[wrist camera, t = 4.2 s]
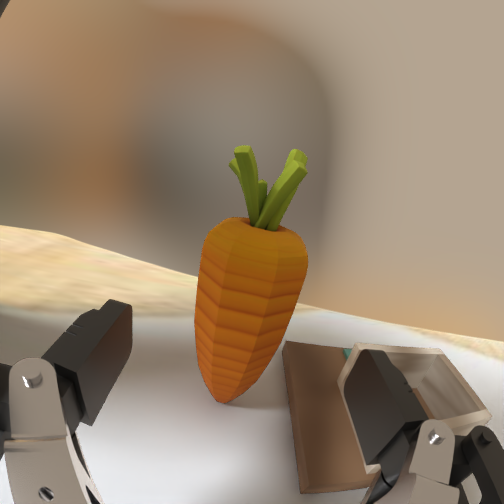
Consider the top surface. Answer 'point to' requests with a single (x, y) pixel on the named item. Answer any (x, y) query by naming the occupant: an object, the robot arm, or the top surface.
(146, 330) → the top surface
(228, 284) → the carrot
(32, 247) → the top surface
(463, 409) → the socket board
